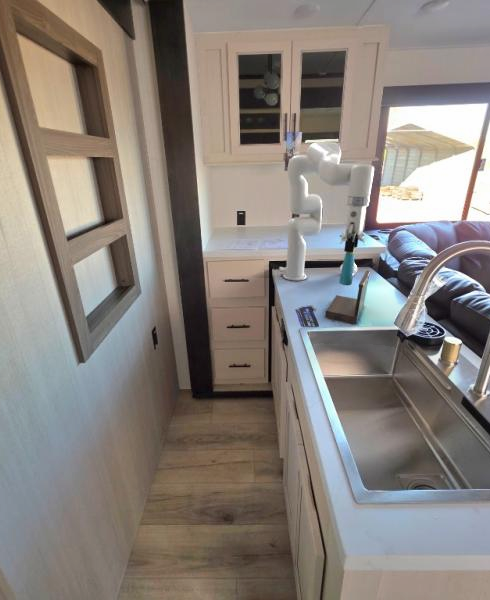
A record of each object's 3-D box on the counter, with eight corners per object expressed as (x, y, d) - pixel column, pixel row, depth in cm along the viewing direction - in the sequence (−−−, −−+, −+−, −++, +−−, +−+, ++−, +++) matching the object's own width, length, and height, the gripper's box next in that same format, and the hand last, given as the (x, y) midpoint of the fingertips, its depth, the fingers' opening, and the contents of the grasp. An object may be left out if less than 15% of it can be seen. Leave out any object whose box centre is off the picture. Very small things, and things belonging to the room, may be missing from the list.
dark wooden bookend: (325, 317, 126) (329, 279, 120) (335, 301, 141) (340, 266, 134) (356, 324, 121) (363, 285, 114) (364, 306, 135) (370, 271, 129)
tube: (351, 287, 123) (359, 238, 115) (338, 286, 124) (345, 237, 116) (351, 281, 129) (358, 234, 121) (339, 279, 130) (345, 233, 123)
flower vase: (353, 269, 182) (359, 225, 172) (364, 280, 165) (372, 232, 155) (330, 269, 183) (336, 225, 172) (339, 280, 166) (345, 232, 156)
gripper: (364, 204, 105) (356, 256, 112) (372, 199, 119) (364, 245, 126) (342, 203, 108) (335, 253, 115) (351, 198, 122) (345, 243, 129)
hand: (350, 249), depth 121 cm, fingers closed on tube, 7 cm apart
